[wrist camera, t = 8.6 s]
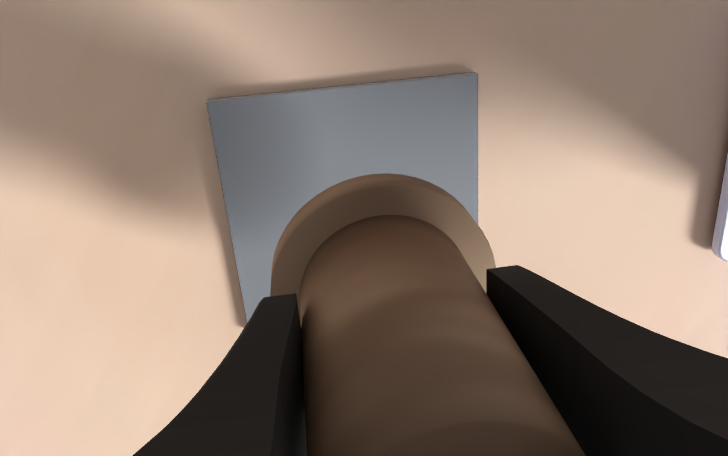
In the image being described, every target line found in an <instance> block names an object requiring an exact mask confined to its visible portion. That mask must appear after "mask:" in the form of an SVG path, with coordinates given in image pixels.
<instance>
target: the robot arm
mask: <svg viewBox="0 0 728 456" xmlns="http://www.w3.org/2000/svg"><path fill="white" fill-rule="evenodd" d="M712 251H713V252H714V254H715V255H716V256H718V257H719V258H721V259H723V260H724V261H728V154H727V160H726V166H725V172H724V178H723V183H722V189H721V195H720V201H719V207H718V212H717V218H716V224H715V230H714V236H713V242H712ZM486 294H487V296H488V297H489V299H490V301H491V302H492V304H493V306H494V307H495V309H496V310H497V312H498V314H499V315H500V317H501V319H502V320H503V322H504V323H505V325H506V327H507V328H508V330H509V332H510V333H511V335H512V336H513V338H514V340H515V341H516V343H517V345H518V346H519V348H520V349H521V351H522V353H523V354H524V356H525V358H526V359H527V361H528V362H529V364H530V366H531V367H532V369H533V371H534V372H535V374H536V375H537V377H538V379H539V380H540V382H541V384H542V385H543V387H544V389H545V390H546V392H547V393H548V395H549V397H550V398H551V400H552V402H553V403H554V405H555V406H556V408H557V410H558V411H559V413H560V415H561V416H562V418H563V419H564V421H565V423H566V424H567V426H568V428H569V429H570V431H571V432H572V434H573V436H574V437H575V439H576V441H577V442H578V444H579V445H580V447H581V449H582V450H583V452H584V454H585V455H586V456H728V358H725V357H722V356H718V355H715V354H712V353H709V352H706V351H703V350H701V349H698V348H695V347H692V346H690V345H687V344H684V343H681V342H679V341H676V340H673V339H670V338H668V337H665V336H663V335H660V334H658V333H655V332H653V331H650V330H648V329H646V328H644V327H641V326H639V325H637V324H635V323H632V322H630V321H628V320H626V319H623V318H621V317H619V316H617V315H615V314H613V313H611V312H609V311H607V310H604V309H602V308H600V307H598V306H596V305H594V304H592V303H590V302H589V301H587V300H585V299H583V298H581V297H579V296H577V295H575V294H573V293H571V292H569V291H567V290H566V289H564V288H562V287H560V286H558V285H556V284H554V283H553V282H551V281H549V280H547V279H545V278H543V277H541V276H539V275H537V274H535V273H533V272H531V271H529V270H527V269H525V268H523V267H521V266H518V265H515V266H507V267H499V268H491V269H486ZM133 456H307V446H306V424H305V402H304V381H303V359H302V337H301V324H300V317H299V310H298V303H297V296H296V293H294V294H286V295H278V296H270V297H264V298H263V299H262V300H261V301H260V302H259V304H258V305H257V307H256V309H255V311H254V313H253V314H252V316H251V318H250V320H249V321H248V323H247V325H246V326H245V328H244V329H243V331H242V333H241V334H240V336H239V337H238V339H237V340H236V342H235V343H234V345H233V346H232V348H231V349H230V351H229V352H228V354H227V355H226V357H225V358H224V359H223V361H222V362H221V364H220V365H219V366H218V367H217V369H216V370H215V371H214V373H213V374H212V375H211V376H210V378H209V379H208V380H207V381H206V383H205V384H204V385H203V387H202V388H201V389H200V390H199V392H198V393H197V394H196V395H195V396H194V397H193V398H192V400H191V401H190V402H189V403H188V404H187V405H186V406H185V407H184V409H183V410H182V411H181V412H180V413H179V414H178V415H177V416H176V417H175V418H174V419H173V420H172V421H171V422H170V423H169V424H168V425H167V426H166V427H165V428H164V429H163V430H162V431H160V432H159V433H158V434H157V435H156V436H155V437H154V438H152V439H151V440H150V441H149V442H148V443H147V444H145V445H144V446H143V447H142V448H141V449H140V450H139V451H137V452H136V453H135V454H134V455H133Z"/></svg>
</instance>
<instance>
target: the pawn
mask: <svg viewBox="0 0 728 456" xmlns="http://www.w3.org/2000/svg"><path fill="white" fill-rule="evenodd" d="M491 268H496V266H495V261H494V257H493V253H492V250H491V248H490V245H489V242H488V240H487V239H486V237H485V235H484V233H483V232H482V230H481V229H480V227H479V226H478V225H477V223H476V222H475V221H474V219H473V218H472V216H471V215H470V214H469V213H468V211H467V210H466V209H465V207H464V206H463V205H462V204H461V203H460V202H459V201H458V200H457V199H456V198H455V197H453V196H452V195H451V194H449V193H448V192H446V191H445V190H444V189H442V188H440V187H438V186H436V185H434V184H432V183H431V182H428V181H425V180H422V179H419V178H417V177H412V176H407V175H402V174H390V173H384V174H370V175H364V176H359V177H355V178H352V179H348V180H345V181H342V182H340V183H338V184H336V185H333V186H331V187H329V188H327V189H326V190H324V191H322V192H321V193H319V194H317V195H316V196H315V197H313V198H312V199H311V200H310V201H308V202H307V203H306V204H305V205H304V206H303V207H302V208H301V209H300V210H299V211H298V212H297V213H296V214H295V215H294V216H293V218H292V219H291V220H290V222H289V223H288V224H287V226H286V227H285V229H284V231H283V233H282V235H281V237H280V239H279V241H278V244H277V246H276V249H275V252H274V257H273V261H272V270H271V289H270V296H278V295H286V294H294V293H296V296H297V303H298V310H299V317H300V324H301V337H302V359H303V381H304V402H305V424H306V446H307V456H586V455H585V454H584V452H583V450H582V449H581V447H580V445H579V444H578V442H577V441H576V439H575V437H574V436H573V434H572V432H571V431H570V429H569V428H568V426H567V424H566V423H565V421H564V419H563V418H562V416H561V415H560V413H559V411H558V410H557V408H556V406H555V405H554V403H553V402H552V400H551V398H550V397H549V395H548V393H547V392H546V390H545V389H544V387H543V385H542V384H541V382H540V380H539V379H538V377H537V375H536V374H535V372H534V371H533V369H532V367H531V366H530V364H529V362H528V361H527V359H526V358H525V356H524V354H523V353H522V351H521V349H520V348H519V346H518V345H517V343H516V341H515V340H514V338H513V336H512V335H511V333H510V332H509V330H508V328H507V327H506V325H505V323H504V322H503V320H502V319H501V317H500V315H499V314H498V312H497V310H496V309H495V307H494V306H493V304H492V302H491V301H490V299H489V297H488V296H487V294H486V269H491Z"/></svg>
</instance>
